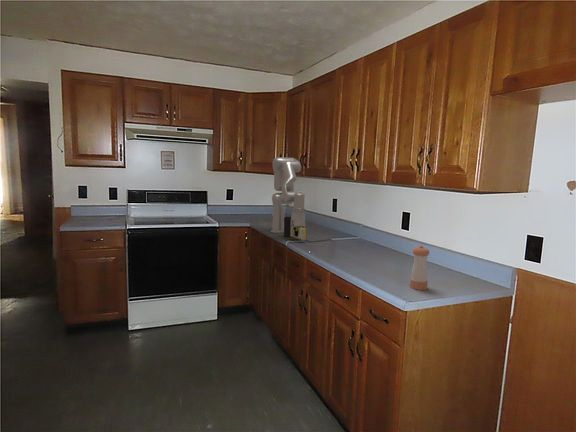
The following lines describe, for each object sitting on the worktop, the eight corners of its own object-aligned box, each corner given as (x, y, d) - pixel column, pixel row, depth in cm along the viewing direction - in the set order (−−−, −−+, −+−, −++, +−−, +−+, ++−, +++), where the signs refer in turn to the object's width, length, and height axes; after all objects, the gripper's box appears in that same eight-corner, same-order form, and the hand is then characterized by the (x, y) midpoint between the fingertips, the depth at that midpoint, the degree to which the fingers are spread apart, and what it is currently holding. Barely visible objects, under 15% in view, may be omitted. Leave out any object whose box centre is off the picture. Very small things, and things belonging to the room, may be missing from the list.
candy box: (305, 240, 255) (306, 228, 254) (303, 240, 254) (303, 229, 253) (292, 235, 269) (292, 224, 267) (290, 236, 267) (290, 225, 266)
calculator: (298, 236, 279) (299, 217, 277) (297, 237, 275) (298, 217, 273) (285, 235, 282) (285, 216, 280) (283, 236, 278) (283, 217, 275)
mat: (300, 239, 267) (300, 238, 267) (321, 237, 278) (321, 236, 278) (311, 242, 258) (311, 241, 257) (331, 239, 268) (331, 238, 268)
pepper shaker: (420, 291, 160) (423, 248, 158) (406, 286, 166) (409, 245, 164) (430, 288, 165) (433, 246, 162) (416, 283, 170) (419, 243, 168)
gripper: (304, 209, 266) (303, 234, 269) (286, 210, 257) (285, 236, 260) (310, 210, 260) (309, 235, 263) (292, 211, 251) (291, 238, 254)
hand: (297, 235), depth 261 cm, fingers closed on candy box, 2 cm apart
